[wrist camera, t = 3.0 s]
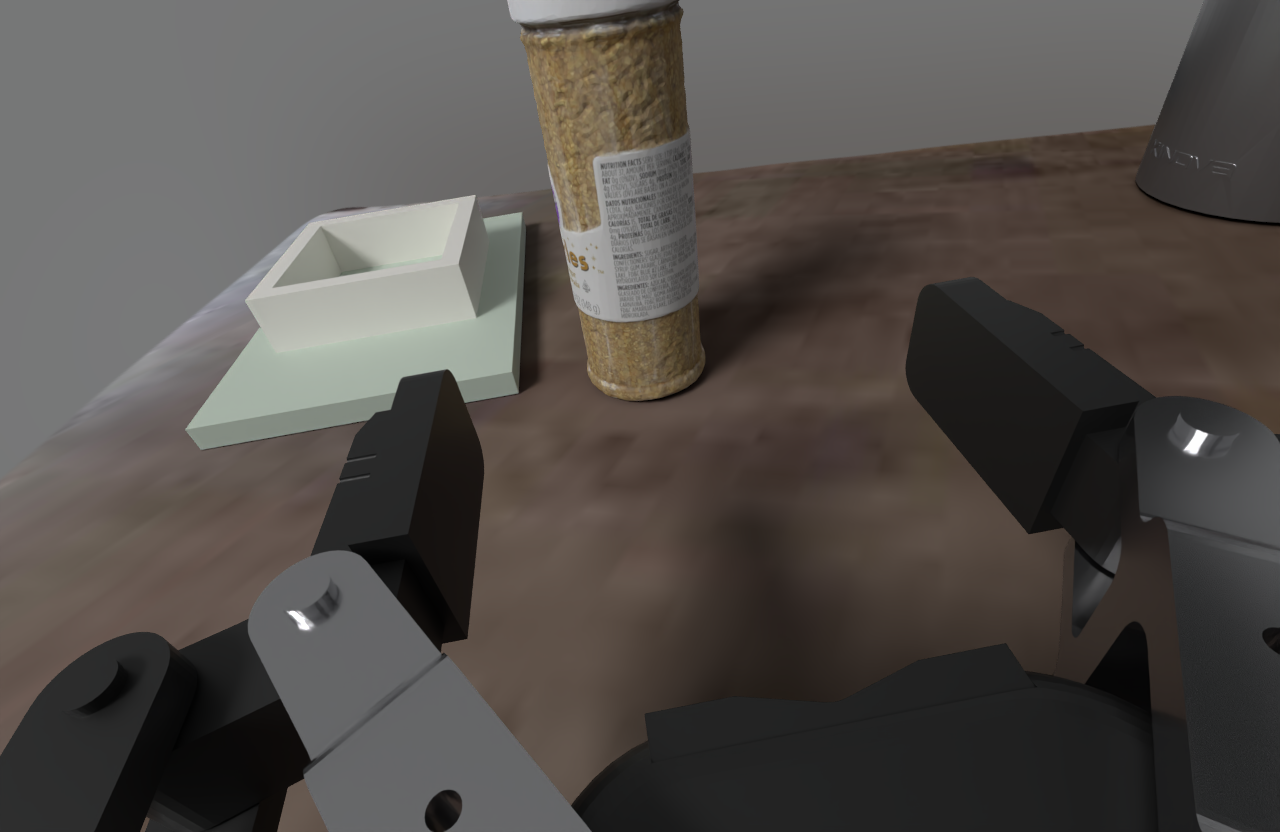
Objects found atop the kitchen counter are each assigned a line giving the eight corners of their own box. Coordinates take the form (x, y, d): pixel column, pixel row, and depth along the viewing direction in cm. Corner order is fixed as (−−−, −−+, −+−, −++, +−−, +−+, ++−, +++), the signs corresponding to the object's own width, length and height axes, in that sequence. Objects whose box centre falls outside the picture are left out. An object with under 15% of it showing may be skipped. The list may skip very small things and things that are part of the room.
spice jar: (578, 355, 24) (484, -68, 16) (684, 327, 25) (647, -93, 17) (605, 421, 21) (501, -77, 12) (727, 387, 21) (708, -108, 13)
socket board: (526, 228, 36) (511, 168, 34) (518, 393, 23) (493, 312, 21) (326, 262, 36) (298, 204, 33) (201, 449, 22) (141, 373, 20)
